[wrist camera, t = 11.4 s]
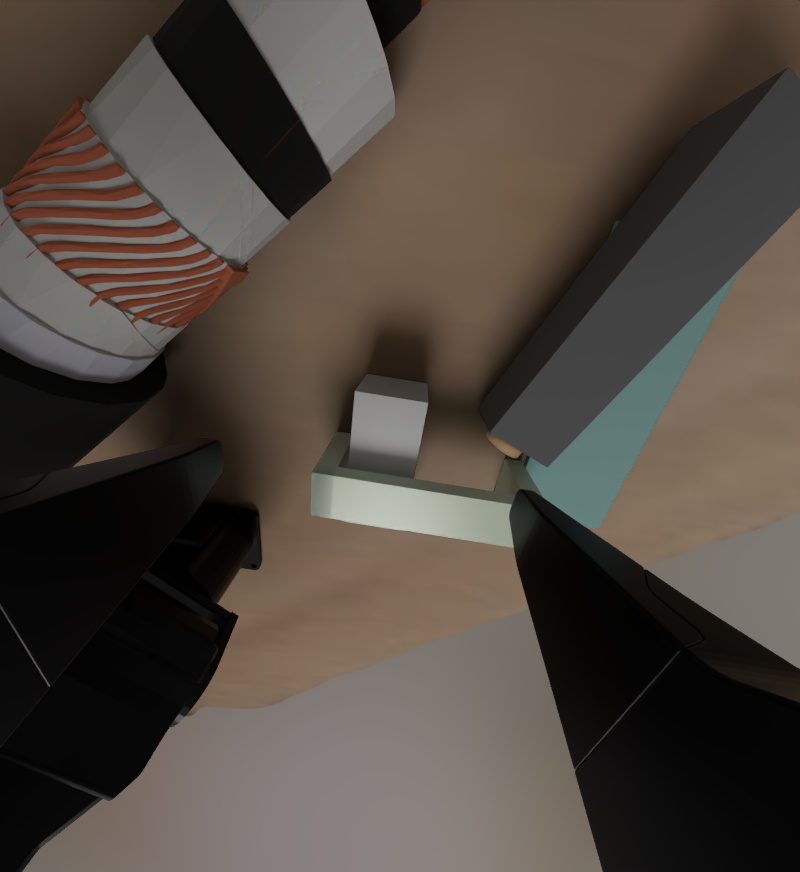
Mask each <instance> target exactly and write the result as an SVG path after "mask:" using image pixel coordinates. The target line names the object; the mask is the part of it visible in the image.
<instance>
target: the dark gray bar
mask: <svg viewBox="0 0 800 872" xmlns="http://www.w3.org/2000/svg"><path fill="white" fill-rule="evenodd" d="M799 207H800V79H799V78H798V77H797V76H796V75H795V74H794V73H793V72H792V71H791V70H790V69H789V68H786V69H785V70H783V71H782V72H780V73H778V74H777V75H775V76H774V77H772V78H770V79H769V80H767V81H765V82H764V83H762V84H761V85H759V86H757V87H756V88H754V89H753V90H751V91H749V92H748V93H746V94H744V95H743V96H741V97H740V98H738V99H736V100H735V101H733V102H732V103H730V104H728V105H727V106H725V107H723V108H722V109H720V110H719V111H717V112H715V113H714V114H712V115H711V116H709V117H707V118H706V119H704V120H703V121H701V122H699V123H698V124H696V125H694V126H693V127H692V128H691V130H690V131H689V132H688V134H687V135H686V136H685V138H684V139H683V140H682V141H681V143H680V144H679V145H678V147H677V148H676V149H675V151H674V152H673V153H672V155H671V156H670V157H669V158H668V160H667V161H666V162H665V164H664V165H663V166H662V168H661V169H660V170H659V172H658V173H657V174H656V175H655V177H654V178H653V179H652V181H651V182H650V183H649V185H648V186H647V187H646V189H645V190H644V191H643V192H642V194H641V195H640V196H639V198H638V199H637V200H636V202H635V203H634V204H633V205H632V207H631V208H630V209H629V211H628V212H627V213H626V215H625V216H624V217H623V219H622V220H621V221H620V222H619V224H618V225H617V226H616V228H615V229H614V230H613V232H612V233H611V234H610V236H609V237H608V238H607V239H606V241H605V242H604V243H603V245H602V246H601V247H600V249H599V250H598V251H597V253H596V254H595V255H594V256H593V258H592V259H591V260H590V262H589V263H588V264H587V266H586V267H585V268H584V269H583V271H582V272H581V273H580V275H579V276H578V277H577V279H576V280H575V281H574V283H573V284H572V285H571V286H570V288H569V289H568V290H567V292H566V293H565V294H564V296H563V297H562V298H561V300H560V301H559V302H558V303H557V305H556V306H555V307H554V309H553V310H552V311H551V313H550V314H549V315H548V317H547V318H546V319H545V320H544V322H543V323H542V324H541V326H540V327H539V328H538V330H537V331H536V332H535V333H534V335H533V336H532V337H531V339H530V340H529V341H528V343H527V344H526V345H525V347H524V348H523V349H522V350H521V352H520V353H519V354H518V356H517V357H516V358H515V360H514V361H513V362H512V364H511V365H510V366H509V367H508V369H507V370H506V371H505V373H504V374H503V375H502V377H501V378H500V379H499V381H498V382H497V383H496V384H495V386H494V387H493V388H492V390H491V391H490V392H489V394H488V395H487V396H486V397H485V399H484V400H483V401H482V403H481V404H480V405H479V407H478V410H479V412H480V414H481V416H482V418H483V420H484V422H485V424H486V426H487V428H488V431H487V432H486V433H485V435H486V437H487V439H488V440H489V441H490V442H491V443H492V444H493V445H494V446H495V447H496V448H498V449H499V450H500V451H502V452H503V453H505V454H506V455H508V456H510V457H512V458H518V457H519V456H520V454H521V453H524V454H526V455H527V456H529V457H531V458H532V459H534V460H536V461H537V462H539V463H540V464H542V465H544V466H545V467H547V468H548V467H549V466H550V464H551V463H552V462H553V461H554V460H555V459H556V458H557V457H558V456H559V455H560V454H561V453H562V452H563V451H564V450H565V449H566V448H567V447H568V446H569V445H570V444H571V443H572V442H573V441H574V440H575V439H576V438H577V437H578V436H579V435H580V434H581V432H582V431H583V430H584V429H585V428H586V427H587V426H588V425H589V424H590V423H591V422H592V421H593V420H594V419H595V418H596V417H597V416H598V415H599V414H600V413H601V412H602V411H603V410H604V409H605V408H606V407H607V406H608V405H609V404H610V403H611V401H612V400H613V399H614V398H615V397H616V396H617V395H618V394H619V393H620V392H621V391H622V390H623V389H624V388H625V387H626V386H627V385H628V384H629V383H630V382H631V381H632V380H633V379H634V378H635V377H636V376H637V375H638V374H639V373H640V372H641V370H642V369H643V368H644V367H645V366H646V365H647V364H648V363H649V362H650V361H651V360H652V359H653V358H654V357H655V356H656V355H657V354H658V353H659V352H660V351H661V350H662V349H663V348H664V347H665V346H666V345H667V344H668V343H669V342H670V341H671V339H672V338H673V337H674V336H675V335H676V334H677V333H678V332H679V331H680V330H681V329H682V328H683V327H684V326H685V325H686V324H687V323H688V322H689V321H690V320H691V319H692V318H693V317H694V316H695V315H696V314H697V313H698V312H699V311H700V310H701V308H702V307H703V306H704V305H705V304H706V303H707V302H708V301H709V300H710V299H711V298H712V297H713V296H714V295H715V294H716V293H717V292H718V291H719V290H720V289H721V288H722V287H723V286H724V285H725V284H726V283H727V282H728V281H729V280H730V279H731V277H732V276H733V275H734V274H735V273H736V272H737V271H738V270H739V269H740V268H741V267H742V266H743V265H744V264H745V263H746V262H747V261H748V260H749V259H750V258H751V257H752V256H753V255H754V254H755V253H756V252H757V251H758V250H759V249H760V248H761V247H762V245H763V244H764V243H765V242H766V241H767V240H768V239H769V238H770V237H771V236H772V235H773V234H774V233H775V232H776V231H777V230H778V229H779V228H780V227H781V226H782V225H783V224H784V223H785V222H786V221H787V220H788V219H789V218H790V217H791V216H792V214H793V213H794V212H795V211H796V210H797V209H798V208H799Z"/></svg>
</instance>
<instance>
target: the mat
mask: <svg viewBox="0 0 800 872" xmlns="http://www.w3.org/2000/svg"><path fill="white" fill-rule="evenodd" d="M620 221H621V220H618V221H615V222H614V225H613V227H612V230H611V233H612V232H613V230H614V229H615V228H616V226H617V225H618V224H619V222H620ZM611 233H610V234H611ZM740 269H741V268H740ZM740 269H739V270H740ZM739 270H738V271H737V272H736V273H735V274H734V275H733V276H732V277H731V279H730V280H729V281H728V282H727V283H726V284H725V285H724V286H723V287H722V288H721V289H720V290H719V291H718V292H717V293H716V294H715V295H714V296H713V297H712V298H711V299H710V300H709V301H708V302H707V303H706V304H705V305H704V306H703V307H702V308H701V310H700V311H699V312H698V313H697V314H696V315H695V316H694V317H693V318H692V319H691V320H690V321H689V322H688V323H687V324H686V325H685V326H684V327H683V328H682V329H681V330H680V331H679V332H678V333H677V334H676V335H675V336H674V337H673V338H672V339H671V341H670V342H669V343H668V344H667V345H666V346H665V347H664V348H663V349H662V350H661V351H660V352H659V353H658V354H657V355H656V356H655V357H654V358H653V359H652V360H651V361H650V362H649V363H648V364H647V365H646V366H645V367H644V368H643V369H642V370H641V372H640V373H639V374H638V375H637V376H636V377H635V378H634V379H633V380H632V381H631V382H630V383H629V384H628V385H627V386H626V387H625V388H624V389H623V390H622V391H621V392H620V393H619V394H618V395H617V396H616V397H615V398H614V399H613V400H612V401H611V403H610V404H609V405H608V406H607V407H606V408H605V409H604V410H603V411H602V412H601V413H600V414H599V415H598V416H597V417H596V418H595V419H594V420H593V421H592V422H591V423H590V424H589V425H588V426H587V427H586V428H585V429H584V430H583V431H582V432H581V434H580V435H579V436H578V437H577V438H576V439H575V440H574V441H573V442H572V443H571V444H570V445H569V446H568V447H567V448H566V449H565V450H564V451H563V452H562V453H561V454H560V455H559V456H558V457H557V458H556V459H555V460H554V461H553V462H552V463H551V464H550V466H549V467H548V468H547V467H545V466H544V465H542V464H540V463H539V462H537V461H536V460H534V459H532V458H531V457H529V456H528V457H527V459H526V462H525V465H524V466H525V468H526V470H527V471H528V473H529V475H530V476H531V478H532V480H533V481H534V483H535V485H536V486H537V488H538V490H539V491H540V493H541V495H542V496H543V498H544V499H546V500H547V501H549V502H550V503H552V504H553V505H554V506H556V507H557V508H559V509H560V510H562V511H563V512H565V513H566V514H567V515H569V516H570V517H572V518H573V519H575V520H576V521H577V522H579V523H580V524H582V525H583V526H585V527H589V528H595V529H598V528H599V527H600V525H601V523H602V521H603V519H604V517H605V516H606V514H607V512H608V510H609V508H610V506H611V505H612V503H613V501H614V499H615V497H616V496H617V494H618V492H619V490H620V488H621V486H622V485H623V483H624V481H625V479H626V477H627V475H628V474H629V472H630V470H631V468H632V466H633V464H634V463H635V461H636V459H637V457H638V455H639V453H640V452H641V450H642V448H643V446H644V444H645V442H646V441H647V439H648V437H649V435H650V433H651V431H652V430H653V428H654V426H655V424H656V422H657V420H658V419H659V417H660V415H661V413H662V411H663V409H664V408H665V406H666V404H667V402H668V400H669V399H670V397H671V395H672V393H673V391H674V389H675V388H676V386H677V384H678V382H679V380H680V378H681V377H682V375H683V373H684V371H685V369H686V367H687V366H688V364H689V362H690V360H691V358H692V356H693V355H694V353H695V351H696V349H697V347H698V345H699V344H700V342H701V340H702V338H703V336H704V334H705V333H706V331H707V329H708V327H709V325H710V323H711V322H712V320H713V318H714V316H715V314H716V313H717V311H718V309H719V307H720V305H721V303H722V302H723V300H724V298H725V296H726V294H727V292H728V291H729V289H730V287H731V285H732V283H733V281H734V280H735V278H736V276H737V274H738V272H739Z"/></svg>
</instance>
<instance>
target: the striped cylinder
mask: <svg viewBox="0 0 800 872" xmlns="http://www.w3.org/2000/svg"><path fill="white" fill-rule="evenodd" d="M428 1H429V0H184V1H183V2H182V3H181V5H180V6H179V7H178V8H177V9H176V11H175V12H174V13H173V14H172V15H171V17H170V18H169V19H168V20H167V21H166V23H165V24H164V25H163V26H162V27H161V29H160V30H159V31H158V32H157V33H156V35H155V36H154V37H151V36H150V35H148V34H146V36H145V37H144V38H143V39H142V41H141V42H140V43H139V44H138V45H137V47H136V48H135V49H134V50H133V52H132V53H131V54H130V55H129V56H128V58H127V59H126V60H125V61H124V63H123V64H122V65H121V66H120V67H119V69H118V70H117V71H116V72H115V74H114V75H113V76H112V77H111V78H110V80H109V81H108V82H107V83H106V85H105V86H104V87H103V88H102V89H101V91H100V92H99V93H98V94H97V96H96V97H95V98H94V99H93V100H92V102H91V101H90V100H89V99H88V98H86V97H85V98H84V99H82V98H80V97H79V96H78V98H77V99H76V101H75V102H74V104H73V105H72V106H71V107H70V108H69V109H68V110H67V111H66V113H65V114H64V115H63V116H62V117H61V118H60V119H59V121H58V123H57V124H56V126H55V127H54V129H53V130H52V132H51V133H50V134H48V135H47V136H46V137H45V138H44V140H43V141H42V142H41V144H40V145H39V147H38V150H37V151H35V152H34V153H33V154H32V155H31V157H30V158H29V159H28V160H27V161H26V163H25V164H24V167H23V169H21V170H20V171H19V172H18V173H16V174H15V175H14V177H13V178H12V179H11V181H10V182H9V183H8V184H7V186H5V187H3V188H1V190H0V483H4V482H9V481H14V480H18V479H23V478H28V477H32V476H37V475H41V474H49V473H51V472H55V471H59V470H64V469H68V468H72V467H73V466H74V465H75V464H76V463H78V462H79V461H80V460H81V459H82V458H83V457H84V456H86V455H87V454H88V453H89V452H90V451H91V450H93V449H94V448H95V447H96V446H97V445H98V444H99V443H101V442H102V441H103V440H104V439H105V438H106V437H108V436H109V435H110V434H111V433H112V432H113V431H114V430H116V429H117V428H118V427H119V426H120V425H121V424H122V423H124V422H125V421H126V420H127V419H128V418H129V417H131V416H132V415H133V414H134V413H135V412H136V411H137V410H139V409H140V408H141V407H142V406H143V405H144V404H146V403H147V402H148V401H149V400H150V399H151V398H152V397H154V396H155V395H156V394H157V393H158V392H159V391H160V390H162V389H163V388H164V384H165V380H166V377H167V371H166V365H165V359H164V356H163V355H162V352H163V351H164V349H165V345H166V344H167V343H168V342H169V341H170V340H171V339H173V338H174V337H175V336H176V335H177V334H178V333H179V332H180V331H182V330H183V329H184V328H185V327H186V326H187V325H188V324H189V322H190V321H191V320H192V319H193V318H194V317H196V316H197V315H199V314H202V313H203V312H204V311H206V310H207V309H208V308H209V307H210V306H211V304H212V303H213V302H214V301H215V300H217V299H218V298H219V297H220V296H221V295H223V294H224V293H225V292H226V291H227V290H229V289H230V288H231V287H232V286H234V285H236V284H238V283H240V282H242V280H243V279H244V278H245V277H246V276H247V274H248V273H249V272H248V271H247V269H248V268H247V267H246V266H247V265H248V264H247V261H248V260H249V259H250V258H251V257H253V256H254V255H255V254H256V253H257V252H258V251H259V250H260V249H261V248H263V247H264V246H265V245H266V244H267V243H268V242H269V241H270V240H271V239H273V238H274V237H275V236H276V235H277V234H278V233H279V232H280V231H282V230H283V229H284V228H285V227H286V226H287V225H288V224H289V223H290V222H291V221H290V217H291V216H292V215H294V214H295V213H296V212H297V211H298V210H299V209H300V208H301V207H302V206H304V205H305V204H306V203H307V202H308V201H309V200H310V199H311V198H313V197H314V196H315V195H316V194H317V193H318V192H319V191H320V190H321V189H323V188H324V187H325V186H326V185H327V184H328V183H329V182H330V181H331V177H330V176H331V175H332V174H333V173H334V172H335V171H336V170H337V169H338V168H340V167H341V166H342V165H343V164H344V163H345V162H346V161H347V160H348V159H349V158H350V157H352V156H353V155H354V154H355V153H356V152H357V151H358V150H359V149H360V148H361V147H362V146H363V145H365V144H366V143H367V142H368V141H369V140H370V139H371V138H372V137H373V136H374V135H375V134H377V133H378V132H379V131H380V130H381V129H382V128H383V127H384V126H385V125H386V124H387V123H389V122H390V121H391V120H392V118H393V117H394V116H395V96H394V91H393V87H392V82H391V78H390V73H389V69H388V64H387V60H386V57H385V54H384V51H383V49H384V48H385V47H386V46H387V45H388V44H389V43H390V42H391V41H392V40H393V39H394V38H395V37H396V36H397V35H398V34H399V33H400V32H401V31H402V30H403V29H404V28H405V27H406V26H407V25H408V24H409V23H410V22H411V21H412V20H413V19H414V18H415V17H416V16H417V15H418V14H419V12H420V11H421V8H422V7H423V6H424V5H425V4H426V3H427V2H428Z"/></svg>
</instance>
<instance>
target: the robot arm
mask: <svg viewBox="0 0 800 872" xmlns="http://www.w3.org/2000/svg"><path fill="white" fill-rule="evenodd" d="M223 468H224V461H223V452H222V445H221V442H219V441H218V440H214V439H208V438H204V439H199V440H194V441H190V442H185V443H181V444H176V445H172V446H167V447H163V448H158V449H154V450H149V451H145V452H140V453H136V454H131V455H127V456H122V457H118V458H113V459H109V460H104V461H100V462H95V463H91V464H86V465H82V466H77V467H73V468H68V469H64V470H59V471H55V472H51V473H49V474H41V475H37V476H32V477H28V478H23V479H18V480H14V481H9V482H4V483H0V872H22V871H23V870H24V868H25V867H26V865H27V864H28V863H29V862H30V860H31V859H32V858H33V856H34V855H35V853H36V852H37V851H38V850H39V849H40V848H41V847H42V846H43V845H45V844H46V843H47V842H48V841H50V840H51V839H52V838H53V837H55V836H56V835H57V834H58V833H60V832H61V831H62V830H64V829H65V828H66V827H67V826H69V825H70V824H71V823H73V822H74V821H75V820H76V819H78V818H79V817H80V816H81V815H83V814H84V813H85V812H86V811H88V810H89V809H90V808H92V807H93V806H94V805H95V804H97V803H98V802H99V801H100V800H102V799H105V800H107V801H110V800H112V799H113V798H115V797H116V796H117V795H118V794H119V793H120V792H122V791H123V790H124V789H125V788H126V787H127V786H128V785H129V784H130V783H131V782H133V781H134V780H135V779H136V778H137V777H138V776H139V775H140V774H141V772H142V771H143V769H144V768H145V766H146V764H147V763H148V761H149V759H150V758H151V756H152V754H153V752H154V751H155V750H156V748H157V746H158V745H159V742H160V741H161V740H162V738H163V736H164V735H165V733H166V732H167V730H168V729H169V727H173V726H175V725H176V724H178V723H179V722H180V721H181V720H182V719H183V718H184V717H185V716H186V715H187V713H188V712H189V711H190V710H191V709H192V707H193V706H194V705H195V703H196V702H197V701H198V699H199V698H200V696H201V695H202V694H203V692H204V691H205V689H206V687H207V686H208V684H209V682H210V681H211V679H212V677H213V675H214V673H215V671H216V669H217V667H218V665H219V662H220V660H221V657H222V655H223V653H224V650H225V648H226V645H227V643H228V641H229V638H230V636H231V633H232V631H233V628H234V626H235V624H236V621H237V619H238V615H236V614H235V613H233V612H231V613H230V612H229V611H227V610H226V609H224V608H223V607H221V606H220V605H218V604H217V603H218V602H219V600H220V599H221V597H222V596H223V594H224V593H225V591H226V590H227V588H228V587H229V585H230V584H231V582H232V581H233V579H234V578H235V576H236V575H237V573H238V572H239V570H240V569H241V568H245V569H252V570H257V569H259V567H260V566H261V549H260V533H259V517H258V513H257V512H256V511H254V510H249V509H243V508H237V507H231V506H224V505H218V504H212V503H206V502H203V500H204V499H205V497H206V496H207V494H208V493H209V491H210V490H211V488H212V487H213V485H214V484H215V482H216V481H217V479H218V478H219V476H220V475H221V473H222V471H223ZM251 516H252V517H251ZM509 521H510V527H511V533H512V539H513V546H514V552H515V558H516V563H517V567H518V571H519V575H520V578H521V582H522V585H523V589H524V592H525V596H526V600H527V603H528V607H529V610H530V614H531V617H532V621H533V624H534V628H535V631H536V635H537V639H538V642H539V645H540V649H541V653H542V656H543V660H544V663H545V667H546V671H547V674H548V678H549V681H550V685H551V688H552V692H553V695H554V699H555V702H556V706H557V710H558V713H559V717H560V720H561V724H562V727H563V731H564V734H565V738H566V741H567V745H568V749H569V752H570V756H571V759H572V763H573V766H574V769H575V770H576V771H575V774H576V778H577V782H578V785H579V788H580V792H581V796H582V799H583V802H584V806H585V809H586V814H587V817H588V821H589V824H590V828H591V831H592V834H593V838H594V842H595V845H596V849H597V852H598V856H599V860H600V863H601V867H602V870H603V872H800V669H799V668H797V667H795V666H794V665H792V664H790V663H789V662H787V661H786V660H784V659H783V658H781V657H780V656H778V655H776V654H775V653H773V652H772V651H770V650H769V649H767V648H765V647H764V646H762V645H761V644H759V643H757V642H756V641H754V640H753V639H751V638H750V637H748V636H747V635H745V634H743V633H742V632H740V631H738V630H737V629H735V628H734V627H732V626H731V625H729V624H728V623H726V622H725V621H723V620H721V619H720V618H718V617H717V616H715V615H714V614H712V613H711V612H709V611H707V610H706V609H704V608H703V607H701V606H699V605H698V604H697V603H695V602H694V601H692V600H691V599H689V598H687V597H686V596H684V595H683V594H681V593H680V592H679V591H677V590H676V589H674V588H673V587H671V586H670V585H668V584H667V583H665V582H664V581H662V580H661V579H659V578H658V577H657V576H655V575H654V574H652V573H651V572H649V571H648V570H644V568H643V567H642V566H641V565H639V564H638V563H636V562H635V561H634V560H632V559H631V558H629V557H628V556H626V555H625V554H623V553H622V552H621V551H619V550H618V549H616V548H615V547H613V546H612V545H611V544H609V543H608V542H606V541H605V540H603V539H602V538H600V537H599V536H598V535H596V534H595V533H593V532H592V531H590V530H589V529H588V528H586V527H585V526H583V525H582V524H580V523H579V522H577V521H576V520H575V519H573V518H572V517H570V516H569V515H567V514H566V513H565V512H563V511H562V510H560V509H559V508H557V507H556V506H554V505H553V504H552V503H550V502H549V501H547V500H546V499H544V498H543V497H542V496H540V495H539V494H537V493H536V492H534V491H532V490H526V489H519V490H518V491H517V493H516V495H515V498H514V501H513V503H512V506H511V509H510V512H509Z"/></svg>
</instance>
